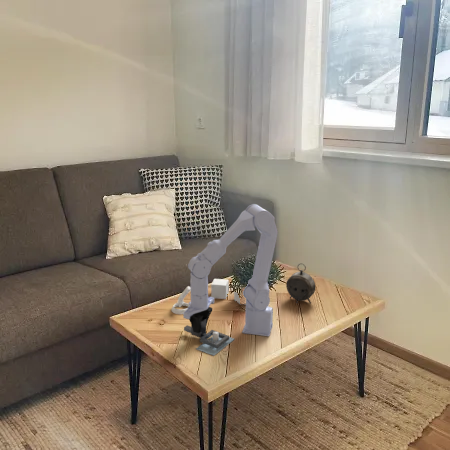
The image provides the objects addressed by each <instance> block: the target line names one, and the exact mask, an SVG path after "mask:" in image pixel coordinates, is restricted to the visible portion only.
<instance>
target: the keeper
mask: <svg viewBox="0 0 450 450" xmlns="http://www.w3.org/2000/svg"><path fill="white" fill-rule="evenodd" d="M218 332H219V331H217V332H213V335H212V336H211V337H209V338H208V339H207V340H210V341H213V342H215V343H217V342H218V341H220V340H221V339H222V338H219V333H218ZM233 341H235V338H234V337H230V336H229V340H228V341H226V342H225V343H224V344H223V345H221V346H220V347H219V348H214V347H212V346H209V345H207V344H204V343H202V344H200V345H199V346H197V347H196V348H195V349H196V350H197V351H201V352H202V353H206V354H208V355H211V356H216V355H217V354H218V353H220V352H221V351H222V350H224V348H226V347H227V346H229V344H231V343H232V342H233Z"/></svg>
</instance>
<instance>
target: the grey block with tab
mask: <svg viewBox="0 0 450 450" xmlns="http://www.w3.org/2000/svg"><path fill="white" fill-rule="evenodd" d="M190 325H191V324H190ZM190 325H185V326H184V327H183V331H184V332H186V333H189V334H190V335H192V336H194V337H197V338H199V342H200V343H202V344H203V343H204V344H207V345H209V346H212V347H214V348H219V347H220V346H221V345H223V344H224V343H225V342H226V341H228V340H229V337H230V336H229V335H227V334H225V333H222V332H219V331H217V330H214V329H211V330H209V331H208V332H207V326H206V318H204V317H203V318H202V320H201V325H200V332H199V333H196V332H194V331H193V328H192V325H191V326H190ZM213 332H218V333H219V338H222V339H221V340H220V341H218V342H217V343H215V342H213V341H210V340H208V339H210V338H211V337H212V336H213Z"/></svg>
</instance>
